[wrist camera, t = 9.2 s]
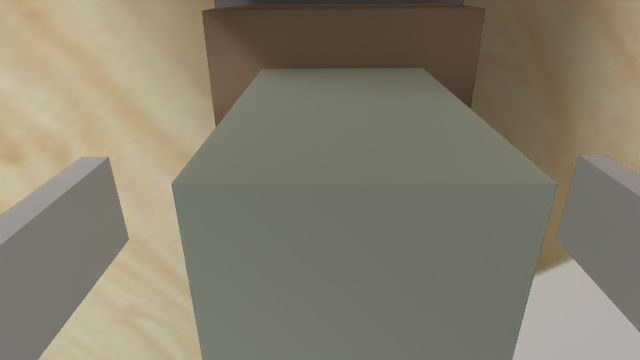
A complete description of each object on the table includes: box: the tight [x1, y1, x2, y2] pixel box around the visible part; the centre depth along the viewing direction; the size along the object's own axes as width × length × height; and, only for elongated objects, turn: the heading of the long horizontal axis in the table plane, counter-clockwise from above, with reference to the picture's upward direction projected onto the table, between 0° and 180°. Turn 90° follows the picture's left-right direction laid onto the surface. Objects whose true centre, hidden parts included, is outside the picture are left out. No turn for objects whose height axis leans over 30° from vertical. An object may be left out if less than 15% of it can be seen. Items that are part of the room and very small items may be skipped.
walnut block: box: [202, 3, 485, 127], centre depth 19 cm, size 10×10×6 cm
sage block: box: [172, 68, 558, 360], centre depth 12 cm, size 6×6×10 cm
